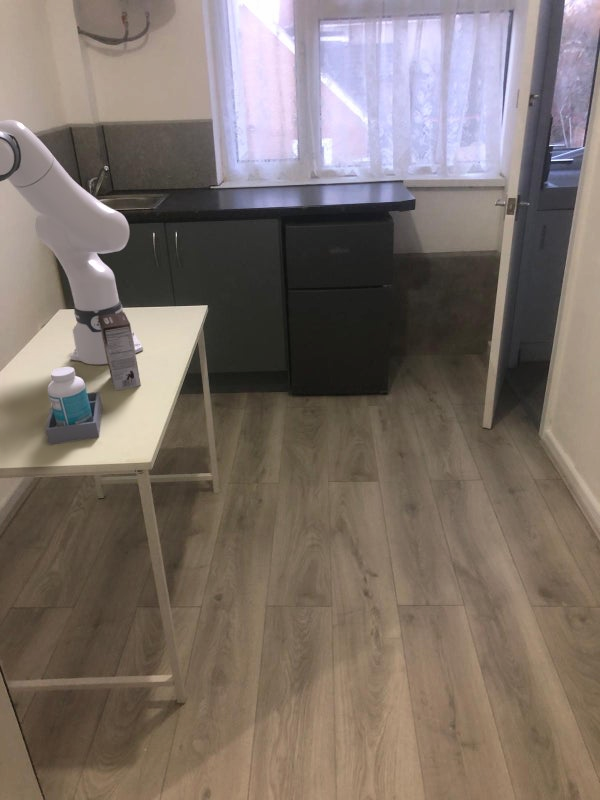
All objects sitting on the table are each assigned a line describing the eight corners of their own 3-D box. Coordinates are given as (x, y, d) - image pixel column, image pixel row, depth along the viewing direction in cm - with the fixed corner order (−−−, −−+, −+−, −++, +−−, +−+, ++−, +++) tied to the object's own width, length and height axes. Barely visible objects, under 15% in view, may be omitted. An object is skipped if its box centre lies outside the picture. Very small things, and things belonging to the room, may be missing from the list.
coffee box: (109, 376, 161) (97, 315, 154) (135, 371, 163) (124, 311, 156) (114, 391, 153) (101, 327, 146) (141, 385, 155) (130, 322, 148)
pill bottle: (98, 418, 142) (85, 362, 135) (89, 436, 135) (76, 377, 129) (63, 420, 142) (50, 364, 135) (53, 438, 135) (38, 380, 129)
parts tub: (56, 411, 146) (53, 397, 144) (102, 405, 147) (99, 391, 146) (49, 444, 133) (45, 429, 131) (99, 437, 134) (95, 422, 133)
